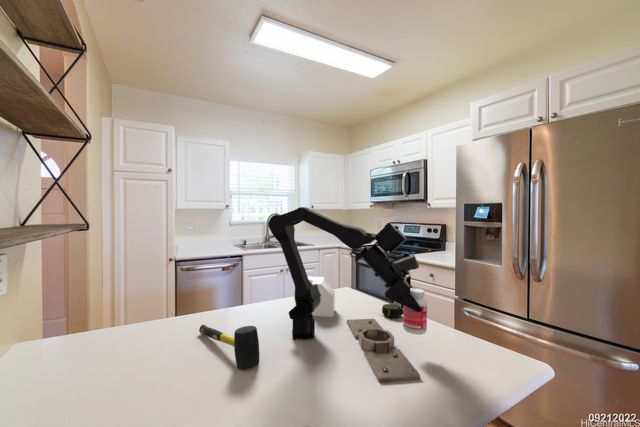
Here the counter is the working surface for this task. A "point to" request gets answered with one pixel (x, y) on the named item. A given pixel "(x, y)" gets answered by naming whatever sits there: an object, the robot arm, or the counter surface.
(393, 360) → the brown mounting plate
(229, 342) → the mallet
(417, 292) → the pill bottle
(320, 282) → the white block
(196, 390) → the counter surface
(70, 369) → the counter surface
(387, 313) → the tape measure
